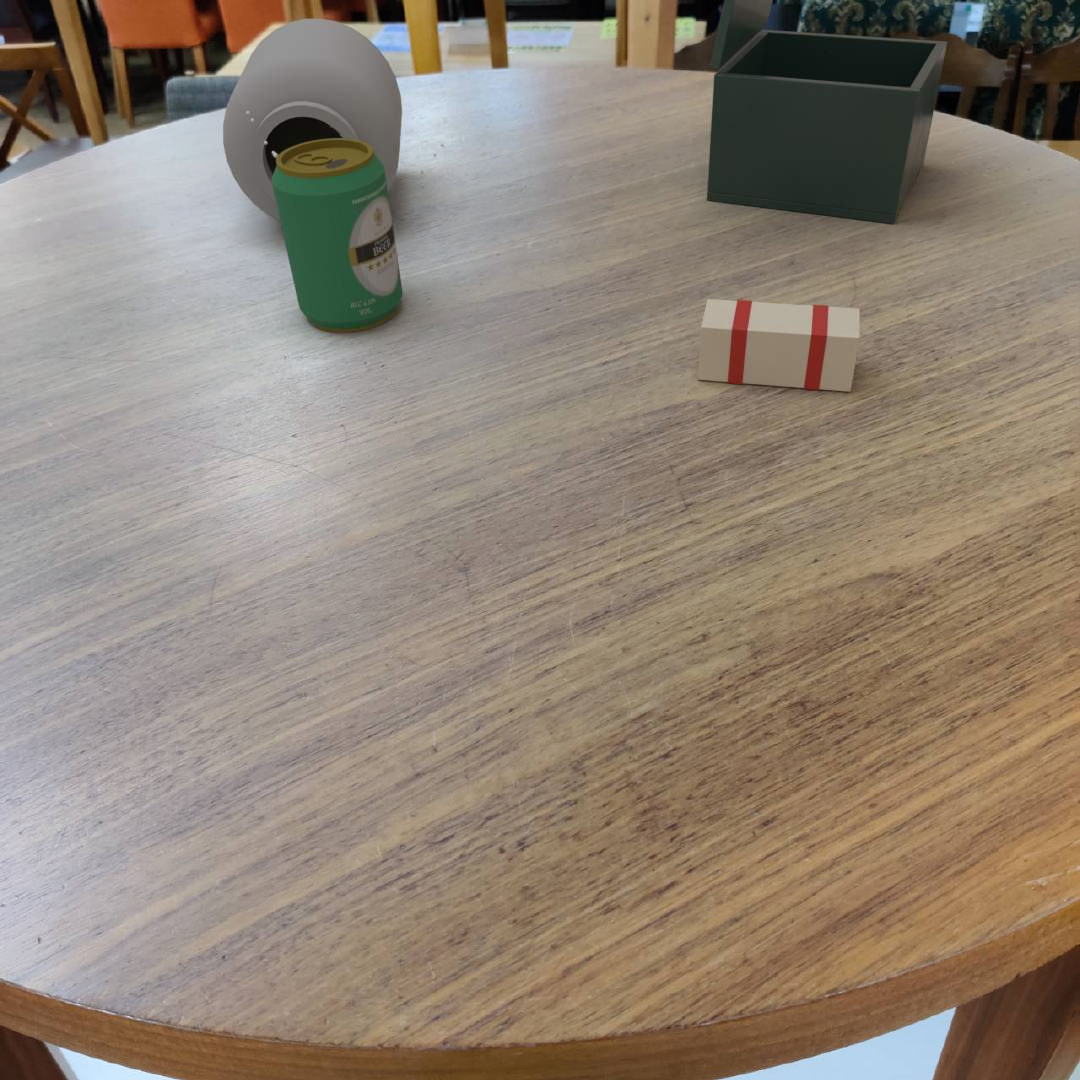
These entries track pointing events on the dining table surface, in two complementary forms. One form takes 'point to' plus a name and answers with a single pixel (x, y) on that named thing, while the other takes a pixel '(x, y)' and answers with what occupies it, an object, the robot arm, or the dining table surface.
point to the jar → (309, 102)
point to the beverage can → (338, 233)
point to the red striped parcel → (779, 344)
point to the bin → (823, 123)
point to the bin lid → (738, 27)
